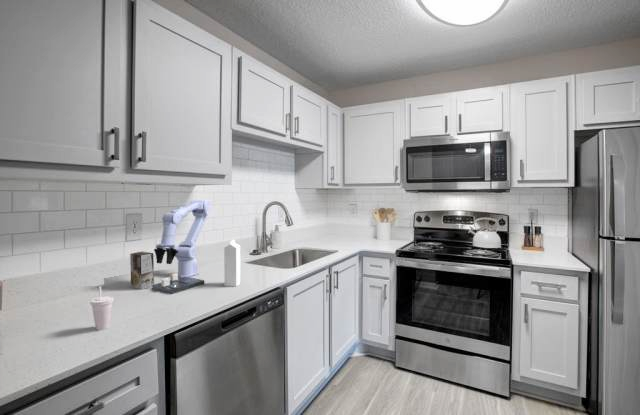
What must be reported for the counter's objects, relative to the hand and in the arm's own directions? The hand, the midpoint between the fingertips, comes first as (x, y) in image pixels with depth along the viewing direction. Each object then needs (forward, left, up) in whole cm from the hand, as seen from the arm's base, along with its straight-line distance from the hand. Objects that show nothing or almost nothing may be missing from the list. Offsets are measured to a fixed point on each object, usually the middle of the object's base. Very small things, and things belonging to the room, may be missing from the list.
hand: (163, 263), depth 158 cm
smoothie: (+42, +29, -10) cm, 52 cm away
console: (-1, +10, -10) cm, 14 cm away
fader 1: (+6, +10, -8) cm, 14 cm away
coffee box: (+8, -5, -10) cm, 14 cm away
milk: (-17, +29, -10) cm, 35 cm away
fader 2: (-2, +5, -8) cm, 10 cm away
